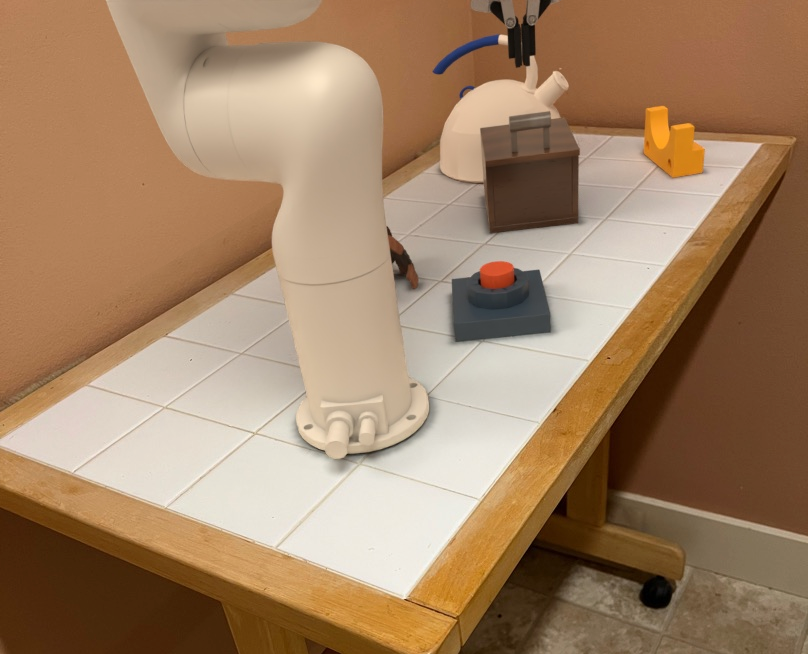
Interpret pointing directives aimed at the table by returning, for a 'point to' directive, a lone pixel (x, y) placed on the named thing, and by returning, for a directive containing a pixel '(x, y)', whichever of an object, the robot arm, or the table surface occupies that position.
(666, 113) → the pipe clamp
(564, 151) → the box lid
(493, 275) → the button
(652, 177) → the table surface
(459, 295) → the control block
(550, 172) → the lidded box
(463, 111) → the kettle
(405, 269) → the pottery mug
